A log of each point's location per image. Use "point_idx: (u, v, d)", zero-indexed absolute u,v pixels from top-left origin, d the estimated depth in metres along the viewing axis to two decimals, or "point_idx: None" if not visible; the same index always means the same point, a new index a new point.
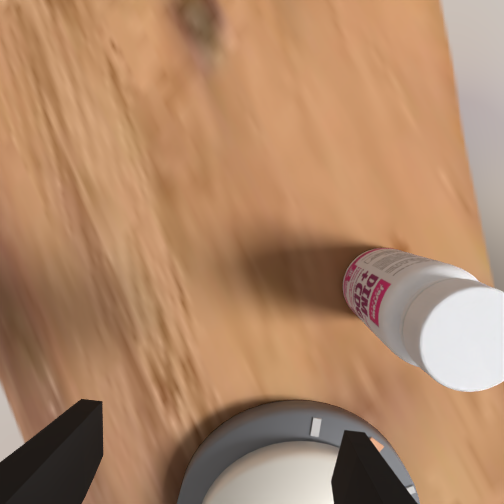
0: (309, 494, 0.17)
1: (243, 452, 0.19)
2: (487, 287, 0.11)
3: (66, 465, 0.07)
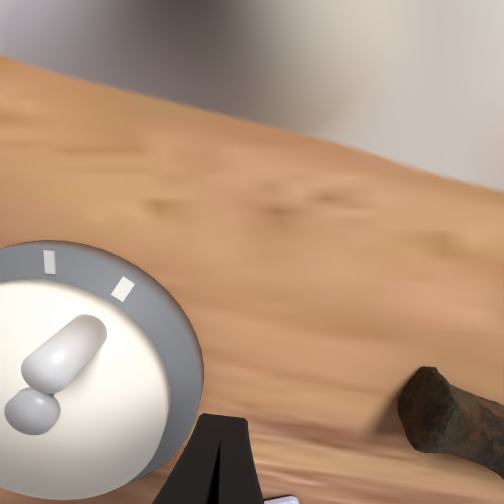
0: None
1: None
2: None
3: (212, 482, 0.07)
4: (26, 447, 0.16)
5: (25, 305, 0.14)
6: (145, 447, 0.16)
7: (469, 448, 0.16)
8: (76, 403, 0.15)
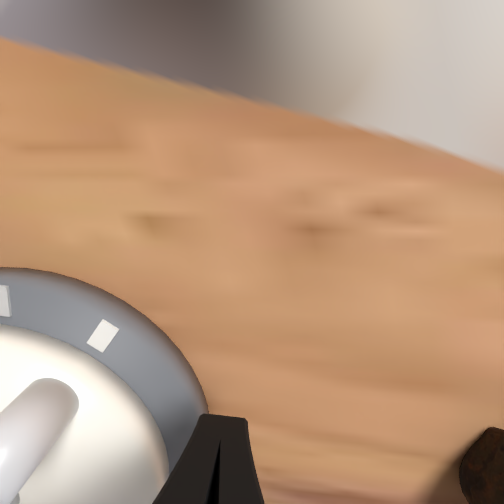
0: None
1: None
2: None
3: (212, 482, 0.07)
4: None
5: None
6: None
7: None
8: (40, 490, 0.11)
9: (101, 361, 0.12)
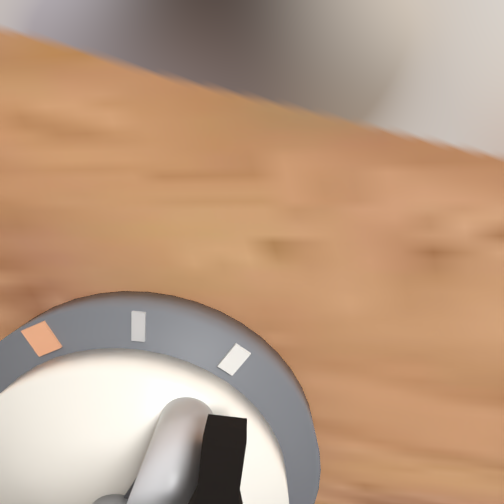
0: (12, 475, 0.11)
1: None
2: None
3: None
4: None
5: (100, 392, 0.10)
6: None
7: None
8: None
9: None
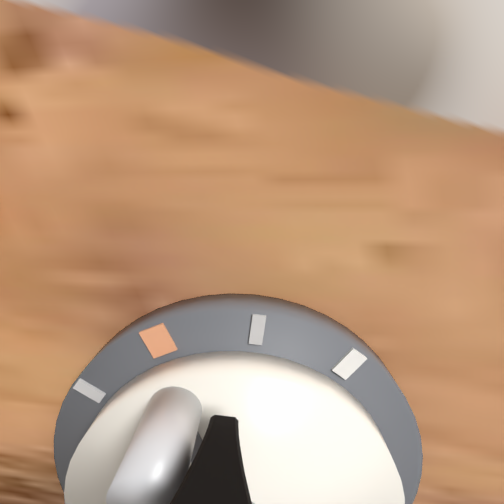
0: None
1: None
2: None
3: None
4: None
5: (106, 443, 0.11)
6: (373, 460, 0.11)
7: None
8: (257, 483, 0.11)
9: None
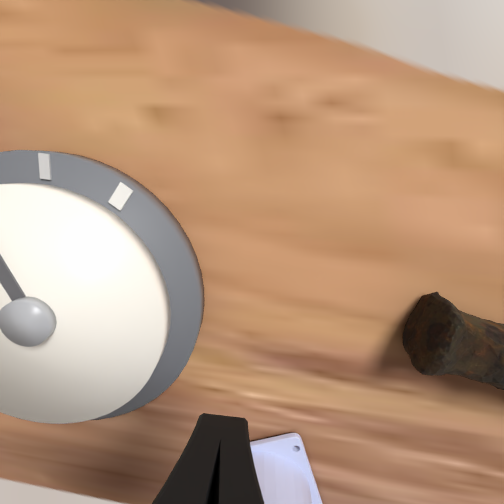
0: None
1: None
2: None
3: (212, 482, 0.07)
4: (72, 360, 0.16)
5: None
6: (125, 259, 0.14)
7: (477, 366, 0.15)
8: (43, 283, 0.14)
9: None
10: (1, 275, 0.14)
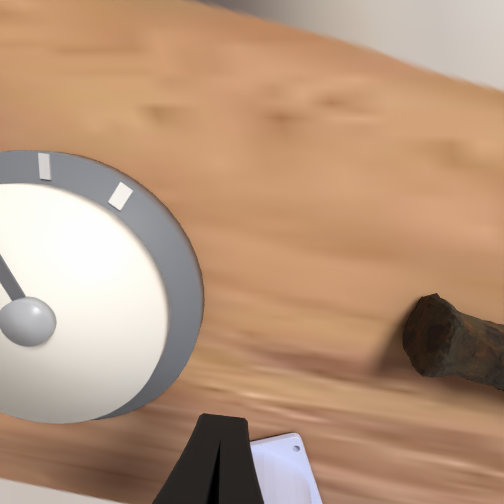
0: None
1: None
2: None
3: (212, 482, 0.07)
4: (72, 360, 0.16)
5: None
6: (125, 259, 0.14)
7: (477, 367, 0.15)
8: (43, 283, 0.14)
9: None
10: (1, 275, 0.14)
